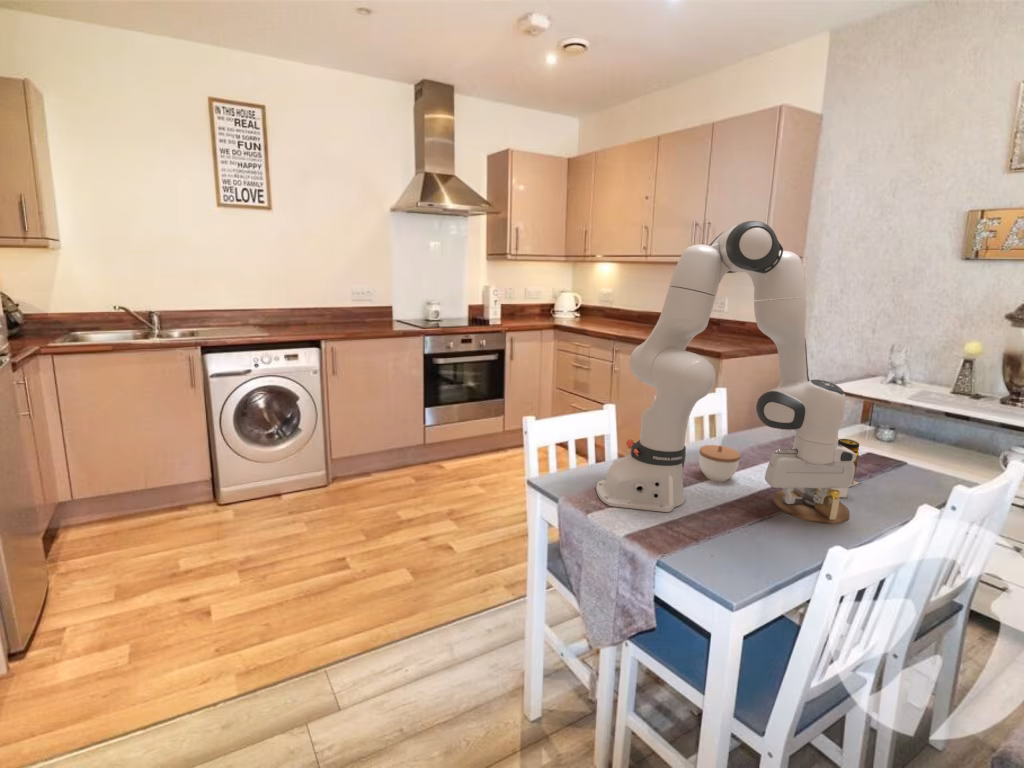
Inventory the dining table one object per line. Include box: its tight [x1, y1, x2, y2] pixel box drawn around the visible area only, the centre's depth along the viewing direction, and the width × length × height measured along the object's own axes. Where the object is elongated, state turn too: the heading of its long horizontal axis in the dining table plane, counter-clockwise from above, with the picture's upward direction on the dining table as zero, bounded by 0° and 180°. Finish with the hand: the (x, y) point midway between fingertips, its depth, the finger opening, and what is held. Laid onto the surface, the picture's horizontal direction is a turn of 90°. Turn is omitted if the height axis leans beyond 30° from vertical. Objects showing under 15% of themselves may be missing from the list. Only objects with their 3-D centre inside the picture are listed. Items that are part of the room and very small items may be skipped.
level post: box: [831, 487, 849, 498], centre depth 145 cm, size 3×4×12 cm
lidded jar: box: [698, 444, 741, 483], centre depth 154 cm, size 11×11×9 cm
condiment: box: [838, 438, 860, 487], centre depth 154 cm, size 7×8×12 cm
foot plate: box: [772, 489, 850, 525], centre depth 139 cm, size 17×17×1 cm
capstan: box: [782, 488, 842, 519], centre depth 137 cm, size 15×16×7 cm
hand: (803, 503), depth 132 cm, fingers open, 6 cm apart
